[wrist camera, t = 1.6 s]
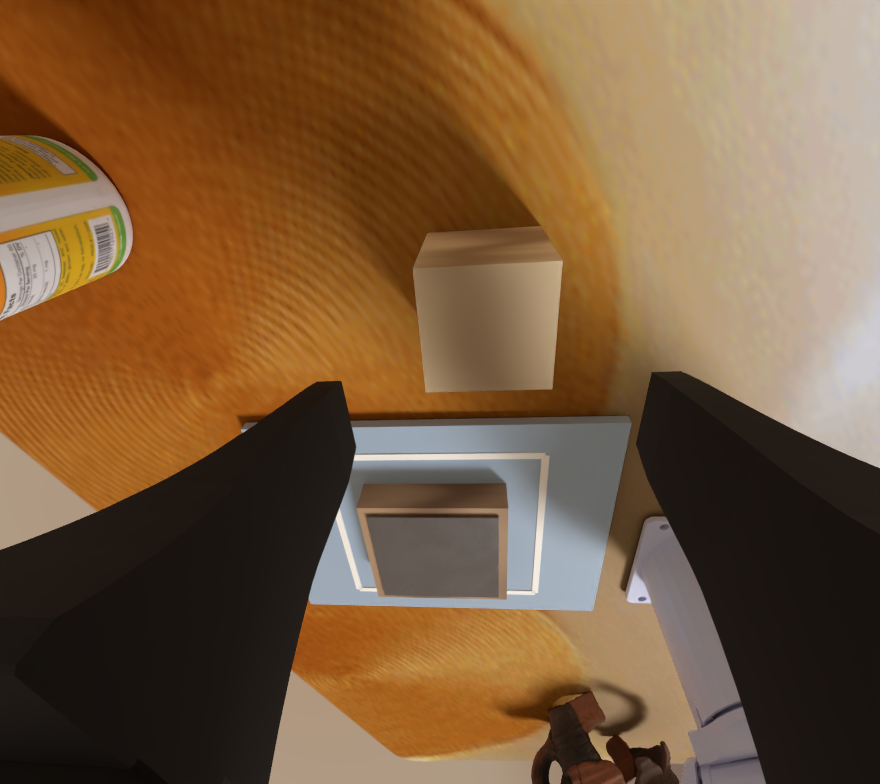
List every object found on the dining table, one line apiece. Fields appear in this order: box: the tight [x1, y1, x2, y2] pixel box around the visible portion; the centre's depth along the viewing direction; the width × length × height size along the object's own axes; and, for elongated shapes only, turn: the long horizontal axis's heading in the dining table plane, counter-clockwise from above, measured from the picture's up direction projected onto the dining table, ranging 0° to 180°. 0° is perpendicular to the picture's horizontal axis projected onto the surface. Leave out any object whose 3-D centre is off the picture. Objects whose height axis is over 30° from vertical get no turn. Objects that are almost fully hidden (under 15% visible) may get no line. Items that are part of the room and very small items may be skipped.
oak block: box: [413, 226, 563, 392], centre depth 16 cm, size 4×4×5 cm
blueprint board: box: [241, 416, 632, 611], centre depth 25 cm, size 20×16×3 cm
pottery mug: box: [531, 692, 679, 784], centre depth 38 cm, size 12×10×8 cm
